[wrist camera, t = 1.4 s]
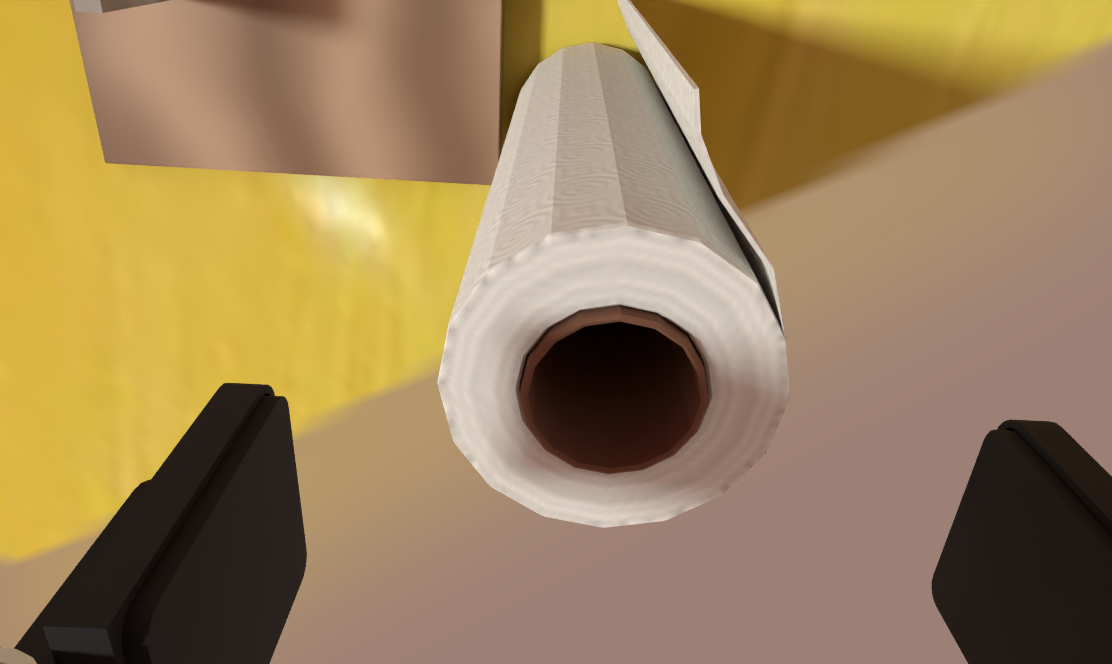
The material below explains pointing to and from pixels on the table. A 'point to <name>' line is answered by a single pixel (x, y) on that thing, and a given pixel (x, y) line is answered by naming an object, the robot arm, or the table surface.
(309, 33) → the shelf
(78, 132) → the table surface
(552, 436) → the paper towel roll
